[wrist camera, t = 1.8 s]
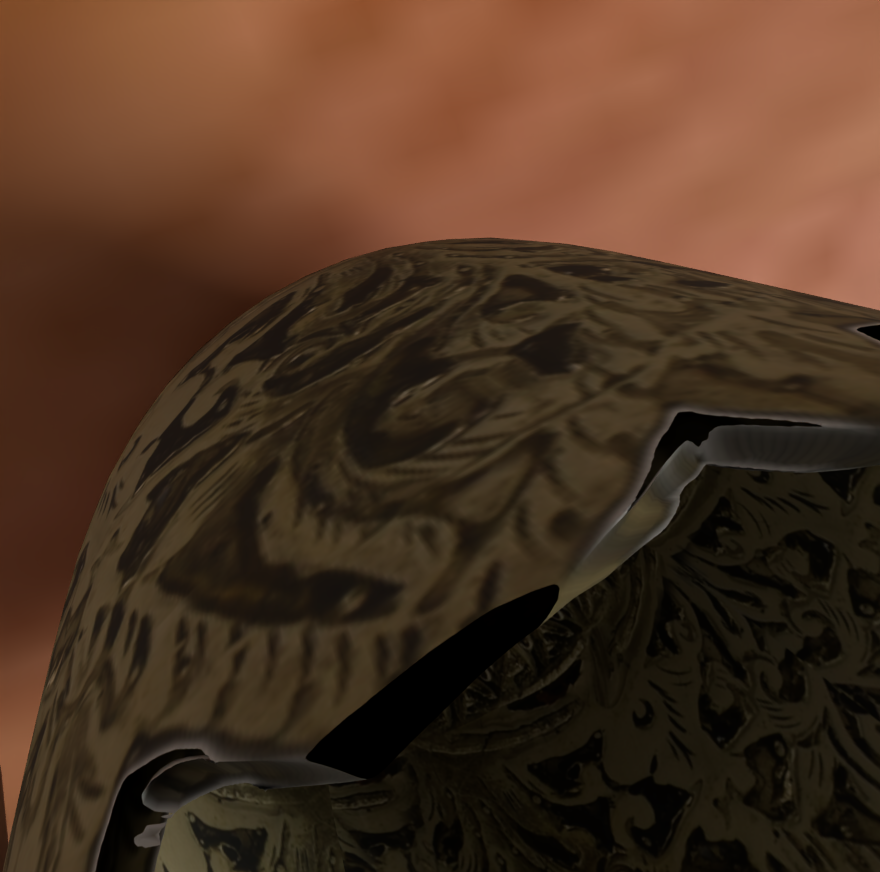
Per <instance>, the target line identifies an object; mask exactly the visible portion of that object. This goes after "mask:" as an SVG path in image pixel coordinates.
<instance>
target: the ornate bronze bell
mask: <svg viewBox="0 0 880 872" xmlns="http://www.w3.org/2000/svg"><path fill="white" fill-rule="evenodd" d="M3 872H880V311H879V310H875V309H871V308H866V307H862V306H858V305H853V304H849V303H844V302H840V301H836V300H831V299H827V298H823V297H818V296H814V295H809V294H805V293H800V292H796V291H791V290H787V289H782V288H778V287H773V286H769V285H764V284H760V283H756V282H751V281H747V280H742V279H738V278H733V277H729V276H724V275H720V274H715V273H711V272H706V271H702V270H697V269H692V268H688V267H683V266H678V265H674V264H669V263H665V262H660V261H655V260H650V259H646V258H641V257H636V256H631V255H626V254H622V253H617V252H612V251H606V250H600V249H594V248H588V247H582V246H576V245H570V244H561V243H549V242H537V241H525V240H513V239H500V238H471V239H447V240H438V241H429V242H421V243H415V244H409V245H403V246H397V247H391V248H385V249H382V250H378V251H375V252H371V253H368V254H364V255H361V256H357V257H354V258H350V259H347V260H344V261H341V262H339V263H337V264H334V265H332V266H329V267H327V268H324V269H322V270H319V271H317V272H315V273H312V274H310V275H307V276H305V277H303V278H301V279H299V280H298V281H296V282H294V283H292V284H290V285H288V286H287V287H285V288H283V289H281V290H279V291H277V292H275V293H274V294H272V295H270V296H268V297H266V298H265V299H264V300H262V301H261V302H259V303H258V304H256V305H255V306H254V307H252V308H251V309H249V310H248V311H246V312H245V313H243V314H242V315H241V316H239V317H238V318H236V319H235V320H233V321H232V322H231V323H229V324H228V325H227V326H226V327H225V328H224V329H223V330H221V331H220V332H219V333H218V334H217V335H216V336H215V337H213V338H212V339H211V340H210V341H209V342H208V343H206V344H205V345H204V346H203V347H202V348H201V349H200V350H198V351H197V352H196V354H195V355H194V356H193V357H192V358H191V359H190V360H189V361H188V362H187V363H186V364H185V365H184V367H183V368H182V369H181V370H180V371H179V372H178V373H177V374H176V375H175V376H174V377H173V378H172V380H171V381H170V382H169V383H168V384H167V385H166V387H165V388H164V390H163V391H162V392H161V394H160V395H159V396H158V398H157V399H156V401H155V402H154V403H153V405H152V406H151V407H150V409H149V410H148V412H147V413H146V414H145V416H144V417H143V419H142V420H141V422H140V423H139V425H138V427H137V428H136V430H135V432H134V433H133V435H132V437H131V438H130V440H129V442H128V444H127V445H126V447H125V449H124V451H123V453H122V454H121V456H120V458H119V460H118V462H117V463H116V465H115V467H114V469H113V471H112V472H111V474H110V476H109V478H108V480H107V483H106V485H105V488H104V490H103V493H102V495H101V498H100V500H99V503H98V505H97V508H96V510H95V513H94V515H93V518H92V520H91V523H90V526H89V528H88V531H87V533H86V536H85V539H84V541H83V544H82V547H81V549H80V552H79V555H78V558H77V562H76V565H75V569H74V572H73V576H72V579H71V583H70V587H69V590H68V594H67V597H66V601H65V605H64V609H63V613H62V616H61V620H60V624H59V628H58V632H57V636H56V640H55V644H54V648H53V652H52V656H51V660H50V664H49V669H48V673H47V677H46V681H45V686H44V690H43V694H42V698H41V702H40V707H39V711H38V715H37V720H36V724H35V728H34V733H33V737H32V741H31V746H30V750H29V755H28V759H27V763H26V768H25V772H24V776H23V781H22V785H21V790H20V794H19V799H18V803H17V808H16V812H15V817H14V821H13V826H12V830H11V835H10V840H9V844H8V849H7V853H6V858H5V863H4V867H3Z"/></svg>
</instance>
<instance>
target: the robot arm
mask: <svg viewBox="0 0 880 872" xmlns="http://www.w3.org/2000/svg"><path fill="white" fill-rule="evenodd" d="M7 849H8V835H7V824H6V814H5V803H4V793H3V783H2V773H1V767H0V872H3V867H4V863H5V858H6V853H7Z"/></svg>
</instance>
